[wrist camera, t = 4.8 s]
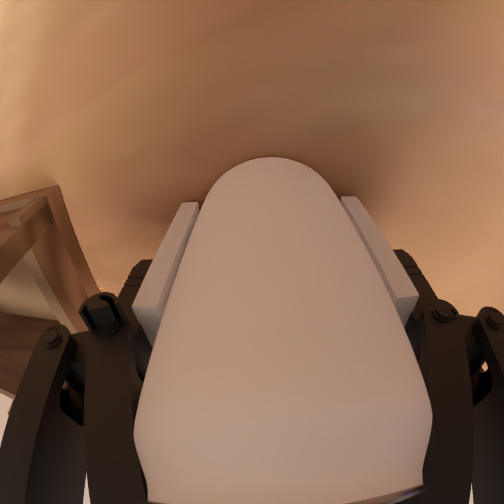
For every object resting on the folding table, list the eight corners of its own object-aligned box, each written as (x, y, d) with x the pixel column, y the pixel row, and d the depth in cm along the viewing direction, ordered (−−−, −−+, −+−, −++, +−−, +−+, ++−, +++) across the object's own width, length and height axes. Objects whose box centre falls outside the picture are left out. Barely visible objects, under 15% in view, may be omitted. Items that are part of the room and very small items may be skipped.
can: (271, 292, 16) (279, 520, 6) (176, 224, 14) (83, 488, 4) (363, 218, 13) (473, 469, 3) (268, 123, 11) (329, 525, 1)
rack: (-51, 218, 13) (-105, 275, 6) (58, 185, 12) (-44, 283, 6) (39, 366, 24) (16, 421, 18) (154, 388, 24) (138, 465, 17)
